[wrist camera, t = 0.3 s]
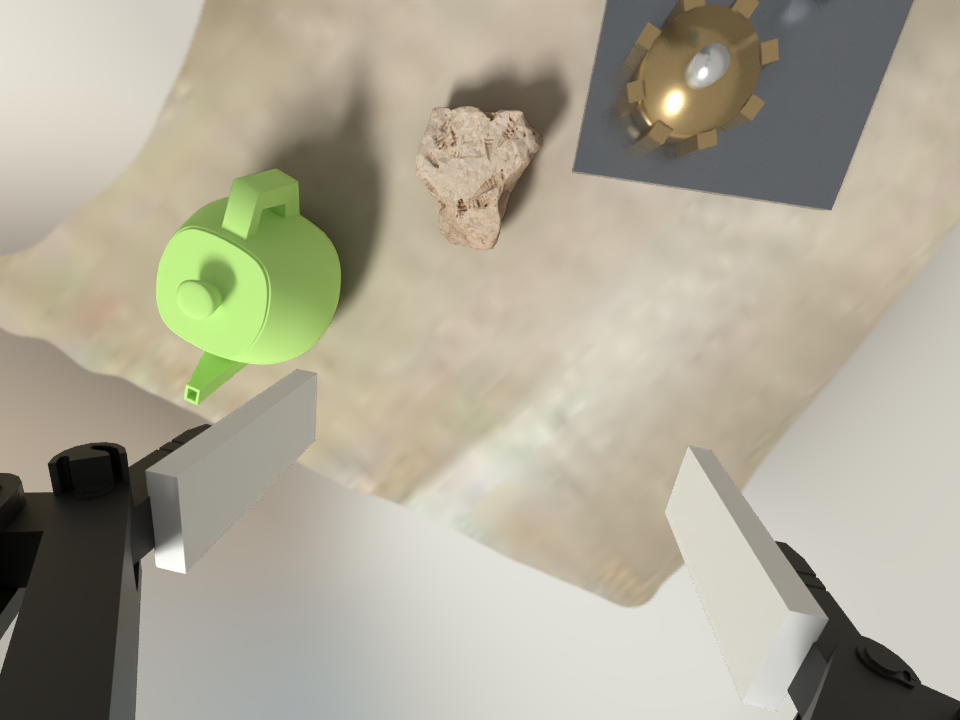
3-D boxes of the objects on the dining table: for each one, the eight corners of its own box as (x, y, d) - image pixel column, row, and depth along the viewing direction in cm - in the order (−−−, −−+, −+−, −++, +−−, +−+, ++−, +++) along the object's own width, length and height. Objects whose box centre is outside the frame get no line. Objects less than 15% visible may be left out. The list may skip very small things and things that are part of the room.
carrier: (634, -139, 31) (666, -259, 23) (941, -109, 30) (1088, -225, 22) (571, 172, 38) (580, 163, 30) (820, 210, 36) (898, 210, 28)
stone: (550, 133, 37) (551, 123, 33) (489, 260, 41) (482, 267, 37) (453, 83, 37) (440, 66, 32) (401, 215, 41) (383, 217, 36)
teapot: (314, 391, 48) (239, 452, 36) (198, 331, 47) (84, 373, 35) (387, 213, 41) (325, 216, 29) (253, 141, 40) (134, 114, 28)
